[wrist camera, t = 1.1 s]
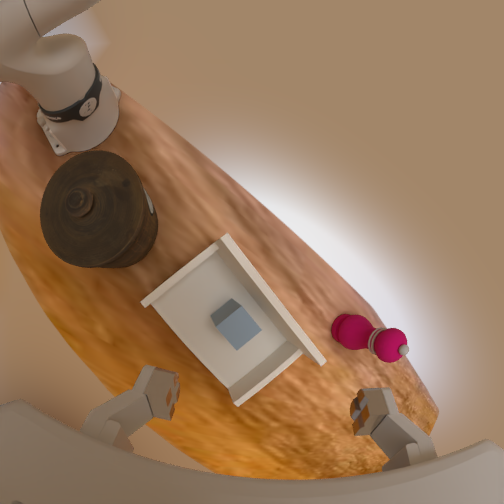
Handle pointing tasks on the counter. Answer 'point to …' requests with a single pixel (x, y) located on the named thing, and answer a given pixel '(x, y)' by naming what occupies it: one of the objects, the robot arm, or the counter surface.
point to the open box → (216, 295)
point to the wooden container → (98, 212)
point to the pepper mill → (369, 337)
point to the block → (235, 323)
